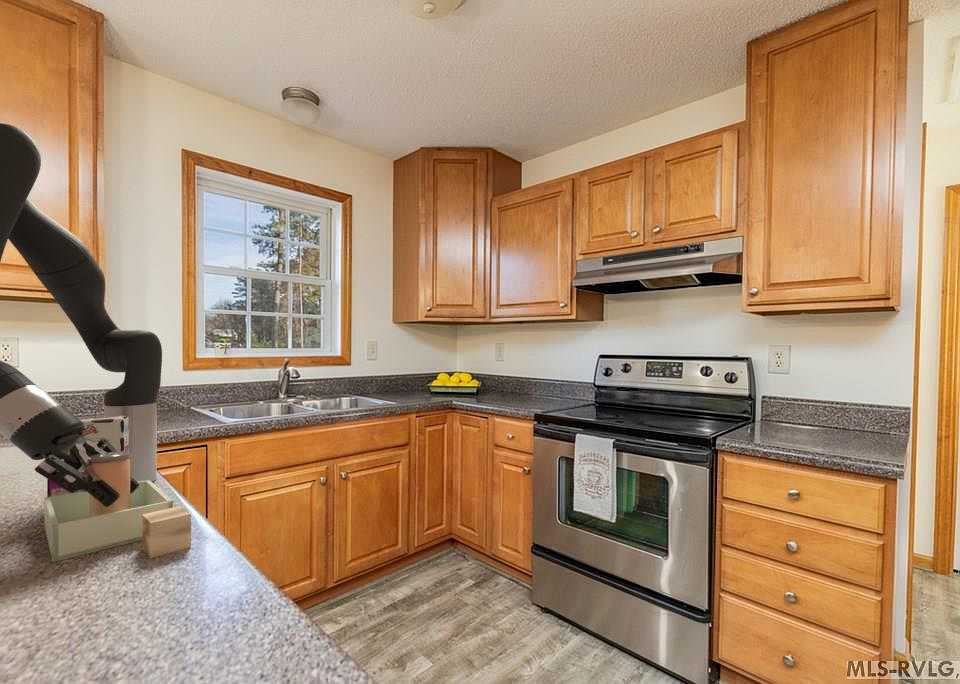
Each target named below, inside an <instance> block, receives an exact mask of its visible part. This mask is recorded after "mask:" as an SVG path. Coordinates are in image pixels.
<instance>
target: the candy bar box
mask: <svg viewBox="0 0 960 684" xmlns="http://www.w3.org/2000/svg"><path fill="white" fill-rule="evenodd" d="M78 419H79V420H81V421H82V422H83V423H84V429H83V431H82V435H83V436H84V437H86V438H88V439H90V440H91V441H93V442H99V441H100V440H101V439H102V438H104V439H106V440H108V441H109V442H110V444H111V445H112V446H113V447H114V448H115V449H116V450H117V451H118V452H119V451H127V452H129V416H116V417H104V416H103V417H101V416H100V417H89V418H87V417H85V418H78ZM57 472H58V471H57ZM86 476H87V475H86ZM46 479H47V478H46ZM64 479H65V480H67V479H66V477H64ZM67 481H68V480H67ZM68 482H69V481H68ZM70 483H73V482H70ZM46 487H47V491H46V492H47V493H46V495H47V497H52V496H58V495H64V494H70V492H68V491H67V490H65V489H64V488H62V487H60V486H59V485H57V484H55V483H54V482H52V481H51V480H49V479H47V485H46ZM76 492H81V491H80V490H77V491H76ZM76 492H75V493H76ZM47 497H46V498H47Z"/></svg>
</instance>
